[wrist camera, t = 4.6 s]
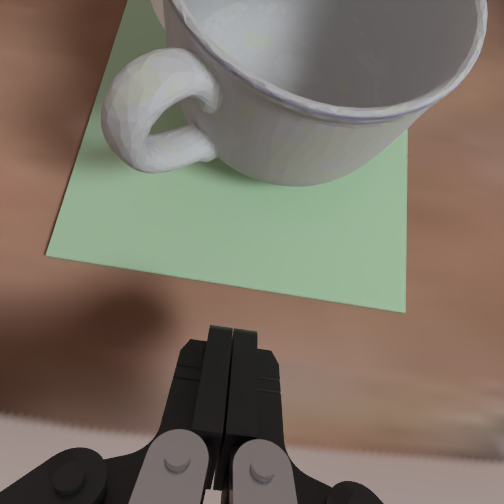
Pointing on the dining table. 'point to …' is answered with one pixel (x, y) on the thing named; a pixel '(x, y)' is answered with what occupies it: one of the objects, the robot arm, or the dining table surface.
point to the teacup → (290, 83)
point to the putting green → (233, 211)
